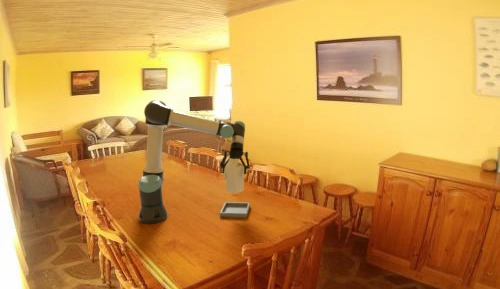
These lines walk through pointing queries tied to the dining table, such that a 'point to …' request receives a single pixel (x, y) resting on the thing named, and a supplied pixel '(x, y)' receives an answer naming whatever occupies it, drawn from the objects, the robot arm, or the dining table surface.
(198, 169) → the dining table surface
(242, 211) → the gray square tray
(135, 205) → the dining table surface
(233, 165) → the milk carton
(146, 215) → the robot arm
